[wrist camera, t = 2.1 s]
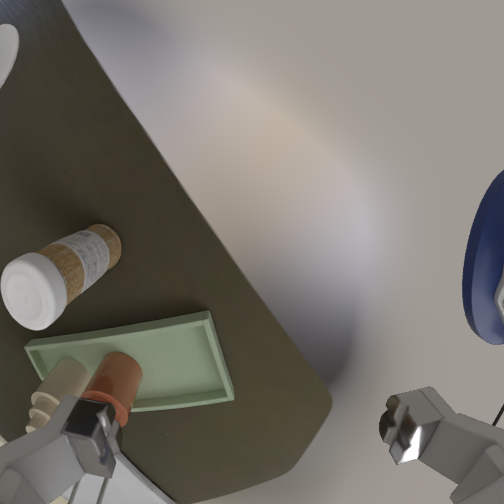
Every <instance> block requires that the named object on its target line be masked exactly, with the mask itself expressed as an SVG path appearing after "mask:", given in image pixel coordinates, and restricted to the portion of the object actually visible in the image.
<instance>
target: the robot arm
mask: <svg viewBox="0 0 504 504" xmlns="http://www.w3.org/2000/svg"><path fill="white" fill-rule="evenodd" d="M494 303H495V305H496V308H497V310H498V312H499V315H500V317H501V320H502V322H503V325H504V265H503V271H502V276H501V279H500V281H499V284H498V286H497V288H496V291H495V294H494ZM386 407H387V409H388V410H387V411H386V412H385V413H384V414H383V415H382V416H381V419H380V422H379V432H380V435H381V438H382V440H383V441H384V442H385V443H387V444H389V445H390V449H389V452H390V454H391V456H392V457H393V459H394V461H395V463H396V465H399V464H403V463H406V462H409V461H413V460H416V459H419V460H420V461H421V462H423V463H424V464H426V465H427V466H429V467H431V468H432V469H434V470H435V471H437V472H439V473H440V474H442V475H443V476H445V477H447V478H448V479H450V480H452V481H454V482H455V483H457V484H458V486H457V487H456V489H455V490H454V491H453V492H452V493H451V496H450V499H451V500H452V502H453V504H504V429H501V428H498V427H496V426H495V425H496V424H497V422H498V420H499V419H500V417H501V415H502V413H503V411H504V405H503V406H502V408H501V410H500V412H499V414H498V415H497V417H496V419H495V421H494V422H493V424H492V425H490V424H487V423H484V422H482V421H479V420H476V419H474V418H471V417H468V416H466V415H463V414H460V413H459V414H456V413H455V412H454V411H453V410H452V409H451V407H450V406H449V405H448V404H447V403H446V402H445V401H444V399H443V398H442V397H441V396H440V395H439V394H438V393H437V391H436V390H435V389H434V388H432V387H430V386H429V387H425V388H421V389H418V390H414V391H410V392H405V393H401V394H396V395H392V396H390V397H389V399H388V400H387V403H386ZM115 415H116V410H115V407H114V405H113V404H112V403H108V402H102V401H97V400H92V399H87V398H82V397H76V396H72V395H68V394H67V395H66V396H64V397H63V398H62V400H61V401H60V403H59V405H58V406H57V408H56V409H55V411H54V413H53V414H52V416H51V418H50V419H49V421H48V423H47V424H46V426H45V428H41V427H40V428H38V429H36V430H34V431H32V432H30V433H28V434H26V435H24V436H22V437H20V438H18V439H16V440H14V441H11V442H9V443H7V444H5V445H3V446H1V447H0V504H50V503H51V502H52V501H54V500H55V499H56V498H58V497H59V496H60V495H61V494H63V493H64V492H65V491H66V490H68V489H69V488H70V487H71V486H72V485H74V484H75V483H76V482H77V481H79V480H80V479H81V478H82V477H83V476H85V473H86V474H91V475H96V476H101V477H106V478H111V479H112V475H113V472H114V469H115V465H116V460H115V458H114V455H115V454H117V453H118V452H120V449H121V445H122V429H121V426H120V423H119V422H118V421H117V420H116V419H115Z"/></svg>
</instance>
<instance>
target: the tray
mask: <svg viewBox="0 0 504 504" xmlns="http://www.w3.org/2000/svg"><path fill="white" fill-rule="evenodd" d="M24 348H25V350H26V352H27V354H28V356H29V358H30V360H31V362H32V364H33V366H34V367H35V369H36V371H37V373H38V375H39V377H40V378H41V380H42V381H43V380H44V378H45V377H46V376H47V374H48V373H49V372H50V370H51V369H52V368H53V367H54V365H55V364H56V363H57V361H58V360H59V359H61V358H64V357H69V358H72V359H75V360H77V361H79V362H80V363H81V364H82V365H84V366H85V368H86V369H87V370H88V372H89V373H90V375H91V377H92V375H93V374H94V372H95V370H96V369H97V367H98V365H99V364H100V362H101V360H102V359H103V357H104V356H105V355H106V354H108V353H111V352H121V353H124V354H127V355H129V356H131V357H132V358H133V359H135V360H136V361H137V363H138V364H139V365H140V367H141V369H142V372H143V378H142V381H141V384H140V387H139V390H138V393H137V395H136V398H135V401H134V404H133V407H132V409H131V412H137V411H151V410H162V409H172V408H181V407H190V406H197V405H205V404H211V403H218V402H224V401H230V400H234V388H233V385H232V382H231V379H230V376H229V372H228V369H227V366H226V363H225V360H224V357H223V353H222V350H221V347H220V344H219V340H218V337H217V334H216V330H215V327H214V324H213V320H212V317H211V313H210V310H207V311H202V312H197V313H192V314H187V315H182V316H177V317H171V318H166V319H160V320H155V321H149V322H144V323H138V324H132V325H127V326H121V327H115V328H108V329H102V330H96V331H89V332H83V333H76V334H69V335H62V336H54V337H47V338H39V339H32V340H31V341H30V342H29V343H28V344H27V345H26V346H25V347H24Z"/></svg>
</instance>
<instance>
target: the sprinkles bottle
mask: <svg viewBox="0 0 504 504" xmlns="http://www.w3.org/2000/svg"><path fill="white" fill-rule="evenodd" d="M120 256H121V241H120V238H119V236H118V235H117V233H116V232H115V231H114V230H113V229H112V228H110V227H109V226H107V225H103V224H95V225H92V226H90V227H89V228H87V229H86V230H83V231H79V232H77V233H74V234H72V235H70V236H67V237H65V238H62V239H60V240H58V241H56V242H54V243H52V244H50V245H48V246H46V247H45V248H43V249H41V250H39V251H37V252H35V253H27V254H25V255H22V256H20V257H18V258H17V259H15V260H13V261H11V262H10V263H9V264H8V265H7V266H6V267H5V269H4V271H3V273H2V277H1V293H2V298H3V301H4V303H5V305H6V308H7V309H8V311H9V313H10V314H11V315H12V317H13V318H14V319H15V320H16V321H17V322H18V323H19V324H21V325H22V326H24V327H26V328H28V329H31V330H42V329H45V328H47V327H48V326H49V325H50V324H52V323H53V322H54V321H55V320H56V319H57V318H58V317H59V316H60V315H61V314H62V312H63V311H64V309H65V307H66V306H67V305H68V304H69V303H70V302H71V301H72V300H73V299H75V298H76V297H77V296H78V295H79V294H81V293H82V292H84V291H85V290H86V289H87V288H89V287H90V286H91V285H92V284H93V283H94V282H95V281H96V280H98V279H99V278H100V277H101V276H102V275H103V274H104V273H105V272H106V271H107V270H108V269H110V268H112V267H113V266H114V265H115V264H116V263H117V262H118V260H119V258H120Z"/></svg>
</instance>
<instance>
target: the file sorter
mask: <svg viewBox="0 0 504 504" xmlns="http://www.w3.org/2000/svg"><path fill="white" fill-rule="evenodd" d="M114 458H115V460H116V465H115V469H114V472H113V475H112V479H111V478H106V477H101V476H96V475H91V474H86V473H85V476H83V477H82V478H81V479H80V480H79V481H77V482H76V483H75V484H74V485H72V486H71V487H70V488H69V489H68V490H66V491H65V492H64V493H63V494H61V496H62V497H64V498H65V499H66V500H68V504H176V503H175V502H174V501H173V500H171V499H170V498H169V497H168V496H167V495H165V494H164V493H163V492H162V491H161V490H160V489H158V488H157V487H156V486H155V485H154V484H153V483H152V482H151V481H150V480H148V479H147V478H146V477H145V476H144V475H143V474H142V473H141V472H140V471H139V470H138V469H137V468H136V467H135V466H134V465H133V464H132V463H131V462H130V461H129V460H128V459H127V458H126V457H125V456H124V455H123V454H122V453H121V452H118V453H117V454H115V455H114Z"/></svg>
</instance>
